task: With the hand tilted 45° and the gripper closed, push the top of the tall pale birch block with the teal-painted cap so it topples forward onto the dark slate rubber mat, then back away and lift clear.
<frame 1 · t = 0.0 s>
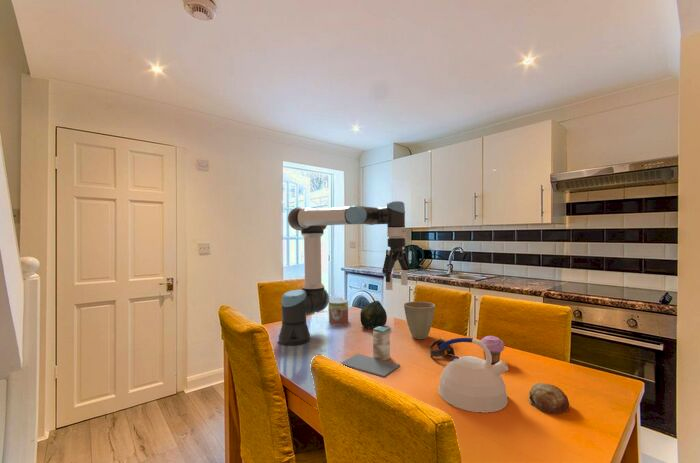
hand: (397, 287, 137), 28 cm above the table, tool pointing down, fingers open, 13 cm apart
cupcake: (492, 362, 126), on the table
plant pot: (419, 337, 157), on the table
squash: (373, 327, 176), on the table
kettle: (472, 396, 101), on the table
brown rounded lump: (549, 406, 95), on the table
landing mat: (369, 365, 125), on the table
pottery mug: (442, 357, 132), on the table
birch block: (381, 357, 132), on the table
canned food: (338, 322, 186), on the table
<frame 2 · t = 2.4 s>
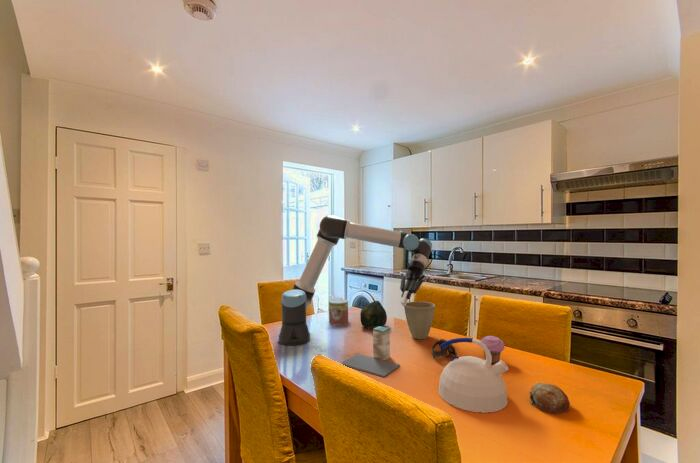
hand: (402, 304, 148), 18 cm above the table, tool tilted 45°, fingers closed
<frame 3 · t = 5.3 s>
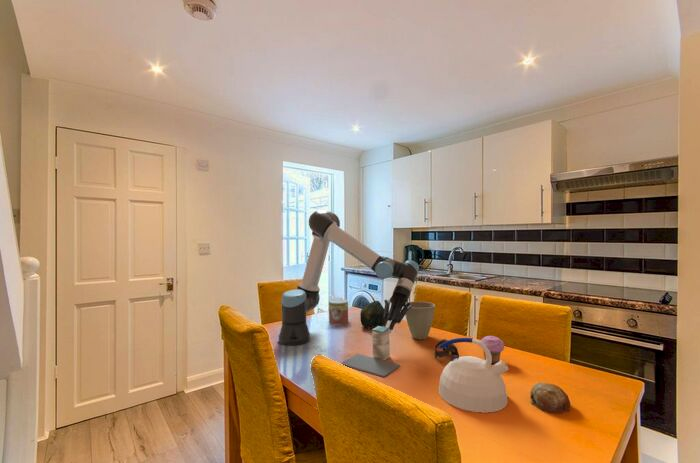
hand: (385, 335, 135), 8 cm above the table, tool tilted 45°, fingers closed
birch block: (381, 357, 132), on the table, touching gripper
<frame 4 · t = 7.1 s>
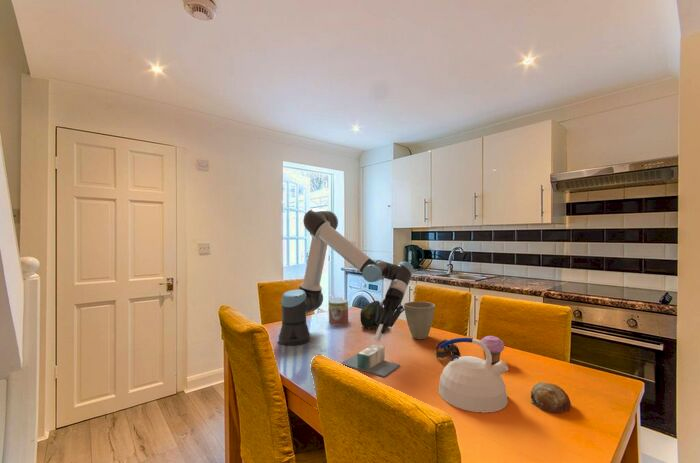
hand: (377, 339, 129), 8 cm above the table, tool tilted 45°, fingers closed
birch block: (379, 351, 131), point 3 cm above the table, tilted 90°, touching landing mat
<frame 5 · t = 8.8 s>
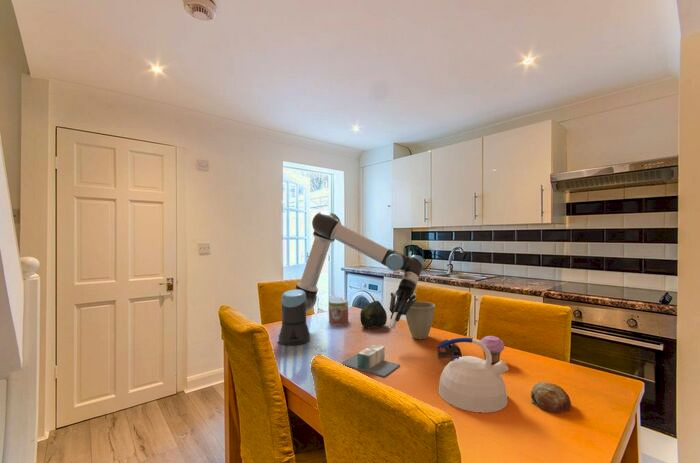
hand: (391, 326, 139), 10 cm above the table, tool tilted 45°, fingers closed
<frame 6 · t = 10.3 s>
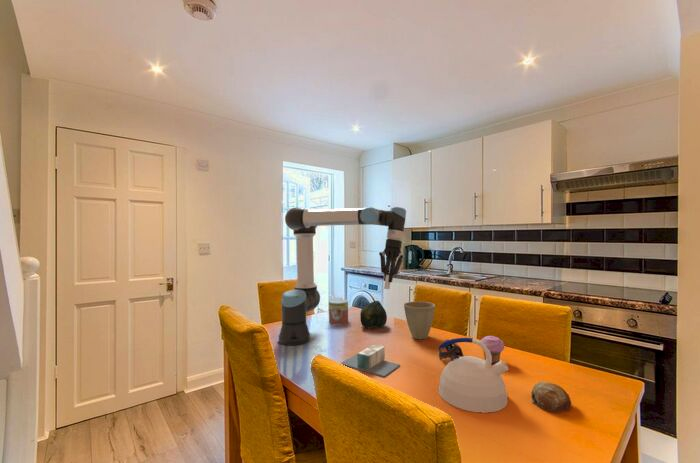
hand: (386, 288, 151), 25 cm above the table, tool pointing down, fingers closed
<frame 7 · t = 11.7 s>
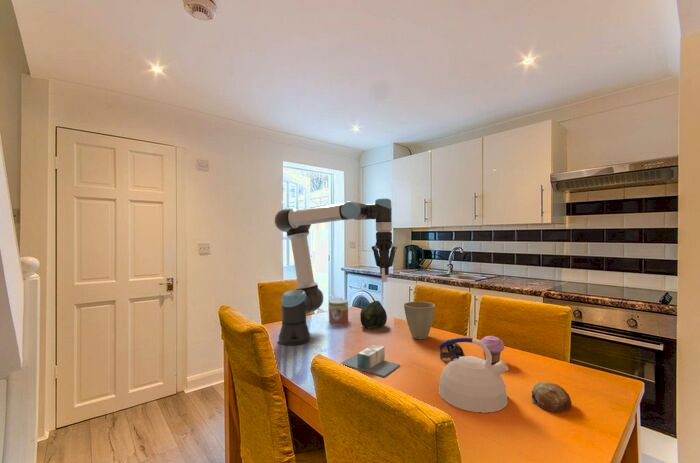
hand: (384, 281, 151), 28 cm above the table, tool pointing down, fingers closed
at the end: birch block tilted 90°; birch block touching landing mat; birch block inside the target area (6.2 cm from its centre), point 3.0 cm above the table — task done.
